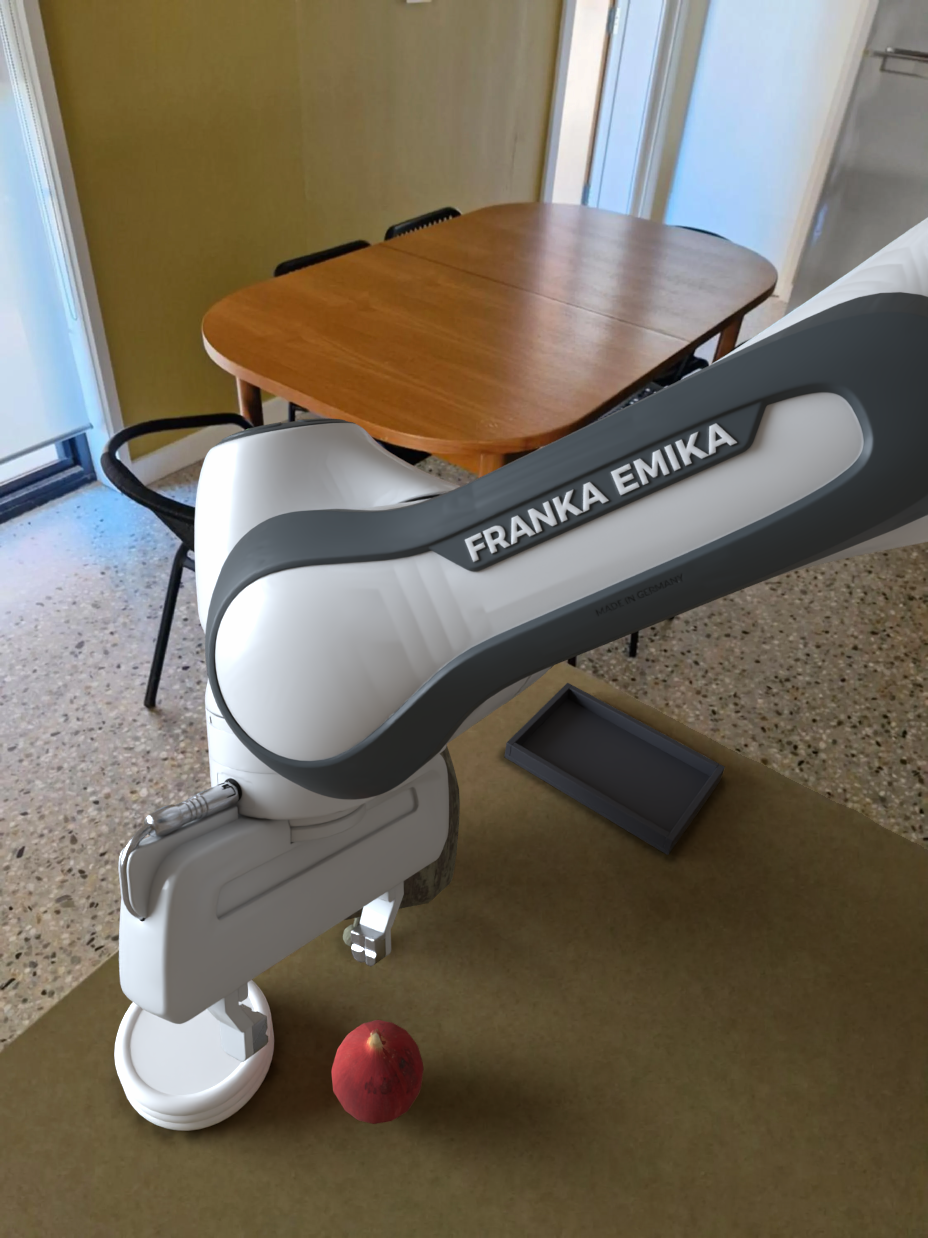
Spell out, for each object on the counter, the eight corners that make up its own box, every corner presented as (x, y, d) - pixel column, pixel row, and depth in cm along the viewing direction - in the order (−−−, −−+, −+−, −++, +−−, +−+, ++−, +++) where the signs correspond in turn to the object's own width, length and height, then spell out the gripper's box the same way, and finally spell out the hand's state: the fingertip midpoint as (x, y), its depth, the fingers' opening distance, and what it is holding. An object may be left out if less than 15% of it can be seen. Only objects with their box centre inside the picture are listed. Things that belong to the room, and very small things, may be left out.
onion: (437, 1082, 60) (443, 1025, 55) (389, 1162, 56) (391, 1108, 51) (366, 1036, 62) (366, 977, 57) (315, 1110, 58) (310, 1054, 53)
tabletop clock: (308, 816, 77) (292, 586, 61) (410, 799, 79) (421, 572, 63) (334, 970, 66) (324, 738, 50) (451, 945, 68) (477, 716, 52)
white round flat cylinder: (304, 1039, 62) (302, 1014, 60) (195, 1168, 55) (188, 1146, 53) (203, 960, 66) (197, 933, 64) (90, 1071, 59) (79, 1047, 57)
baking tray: (720, 781, 83) (725, 766, 82) (667, 855, 76) (672, 841, 75) (564, 696, 90) (567, 682, 89) (504, 757, 83) (506, 742, 82)
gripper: (165, 846, 34) (192, 1154, 37) (466, 712, 51) (469, 932, 53) (72, 810, 38) (102, 1093, 41) (381, 695, 54) (388, 902, 57)
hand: (313, 1000), depth 47 cm, fingers open, 8 cm apart
